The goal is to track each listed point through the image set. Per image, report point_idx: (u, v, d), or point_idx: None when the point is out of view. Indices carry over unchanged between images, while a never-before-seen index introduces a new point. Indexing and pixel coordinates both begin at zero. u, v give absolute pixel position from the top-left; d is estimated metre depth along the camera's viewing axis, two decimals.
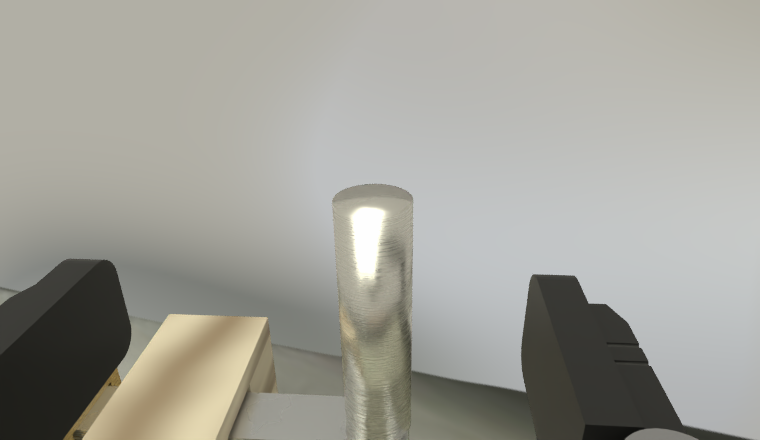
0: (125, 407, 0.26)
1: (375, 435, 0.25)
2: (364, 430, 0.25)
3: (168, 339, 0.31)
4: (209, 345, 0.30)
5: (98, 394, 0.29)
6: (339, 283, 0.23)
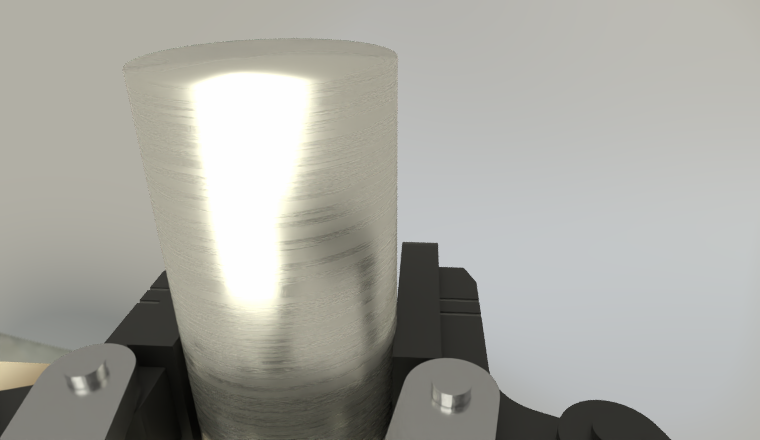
0: None
1: None
2: None
3: None
4: None
5: None
6: (178, 325, 0.08)
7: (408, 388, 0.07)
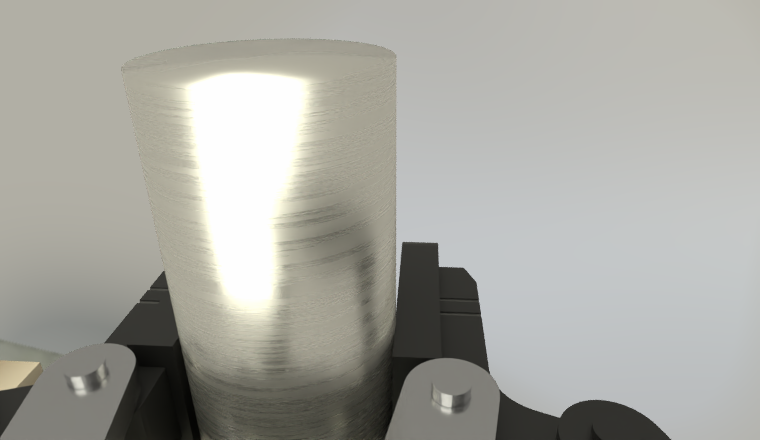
0: None
1: None
2: None
3: None
4: None
5: None
6: (176, 325, 0.08)
7: (408, 388, 0.07)
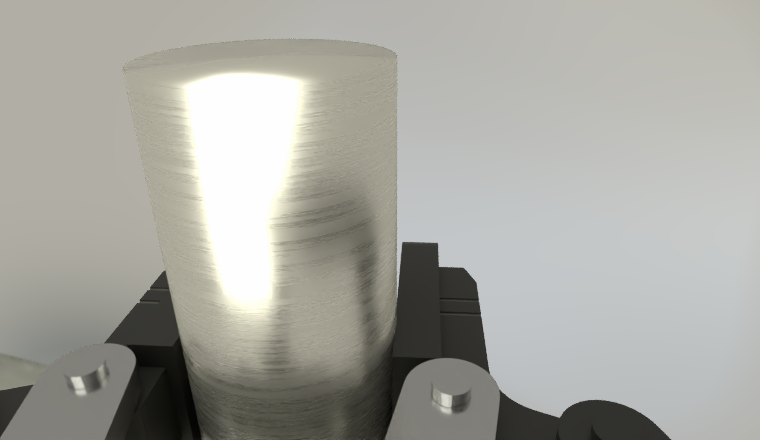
0: None
1: None
2: None
3: None
4: None
5: None
6: None
7: (408, 388, 0.07)
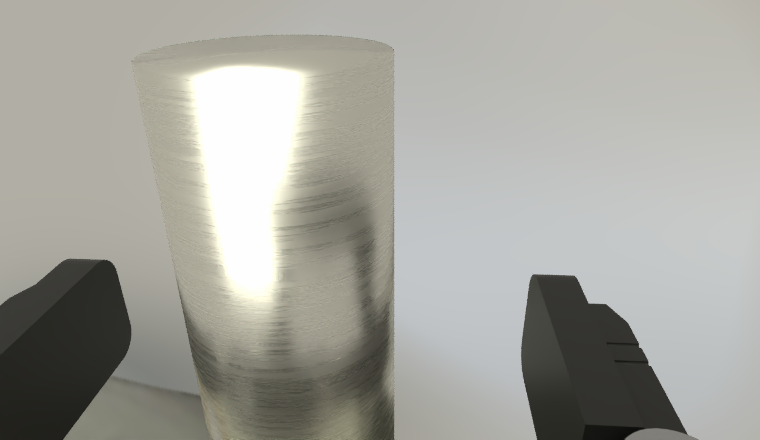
0: None
1: None
2: None
3: None
4: None
5: None
6: (183, 311, 0.08)
7: None
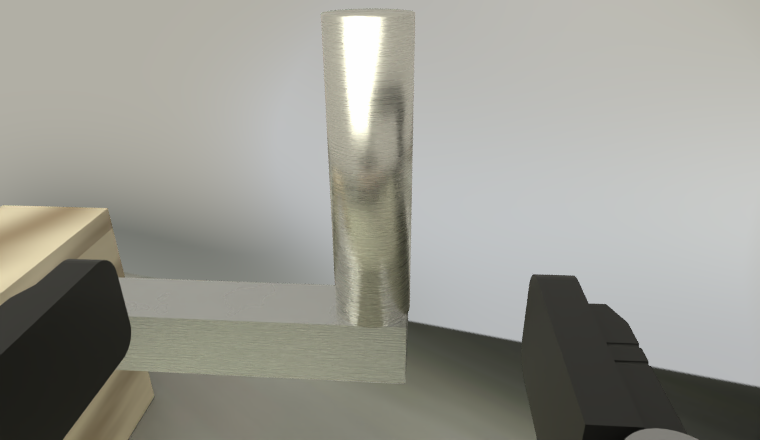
0: None
1: (369, 313, 0.22)
2: (356, 307, 0.22)
3: None
4: (31, 229, 0.28)
5: None
6: (328, 118, 0.20)
7: None
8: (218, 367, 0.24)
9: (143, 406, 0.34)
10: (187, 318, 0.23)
